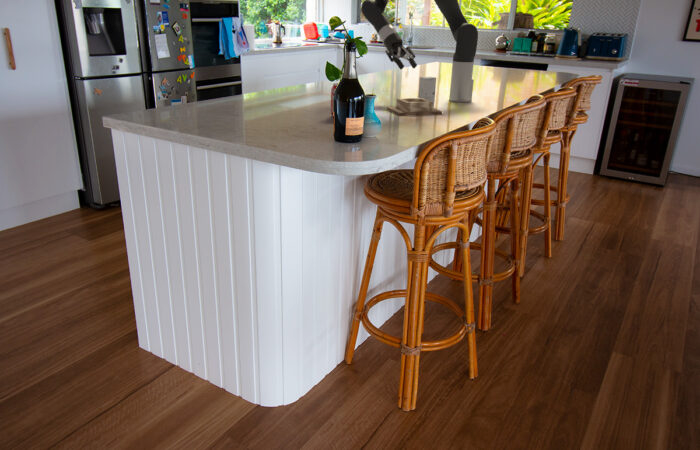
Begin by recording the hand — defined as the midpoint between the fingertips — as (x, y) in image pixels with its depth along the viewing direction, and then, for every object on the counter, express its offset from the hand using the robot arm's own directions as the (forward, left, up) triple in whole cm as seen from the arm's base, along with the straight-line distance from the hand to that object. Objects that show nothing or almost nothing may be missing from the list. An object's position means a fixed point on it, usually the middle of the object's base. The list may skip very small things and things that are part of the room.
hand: (409, 67), depth 235 cm
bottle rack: (+6, +22, -15) cm, 28 cm away
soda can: (+38, +27, -15) cm, 49 cm away
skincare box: (-5, +9, -15) cm, 19 cm away
